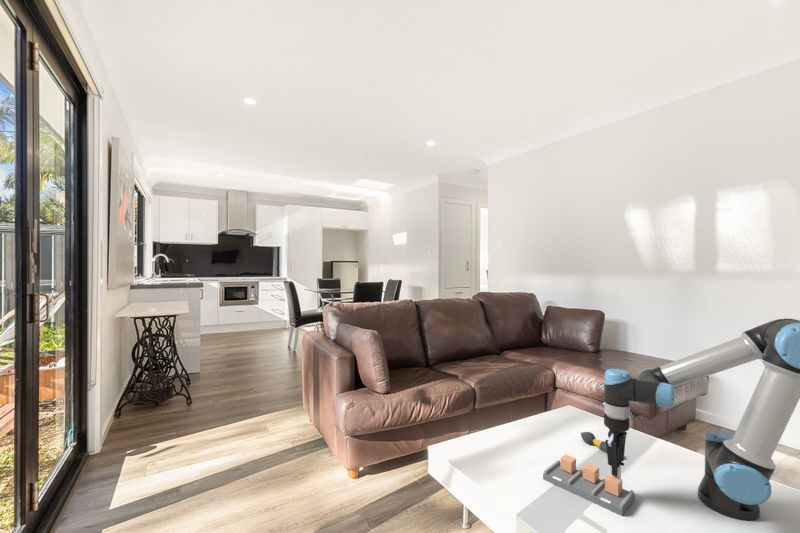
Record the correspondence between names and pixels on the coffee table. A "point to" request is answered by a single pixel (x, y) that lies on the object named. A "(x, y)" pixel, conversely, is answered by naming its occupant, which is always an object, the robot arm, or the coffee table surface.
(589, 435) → the paintbrush
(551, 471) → the switch bank
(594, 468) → the peach cube
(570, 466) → the tan cube
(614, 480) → the tab
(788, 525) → the coffee table surface
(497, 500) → the coffee table surface
